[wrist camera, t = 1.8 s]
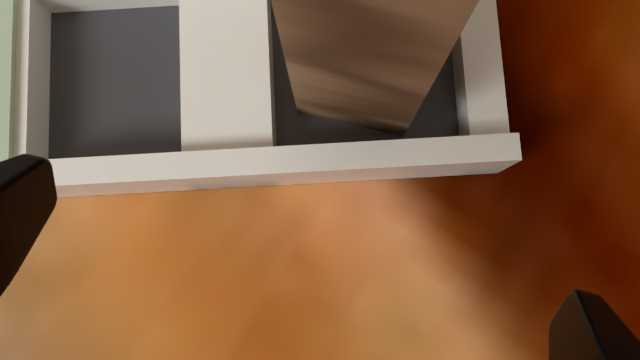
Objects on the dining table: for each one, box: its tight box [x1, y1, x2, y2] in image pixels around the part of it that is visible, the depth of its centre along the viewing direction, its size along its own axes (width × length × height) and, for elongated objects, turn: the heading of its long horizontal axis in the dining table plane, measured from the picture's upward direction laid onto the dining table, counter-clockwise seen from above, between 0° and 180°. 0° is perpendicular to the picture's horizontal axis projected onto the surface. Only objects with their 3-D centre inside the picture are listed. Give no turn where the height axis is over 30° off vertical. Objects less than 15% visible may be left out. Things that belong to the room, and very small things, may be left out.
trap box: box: [0, 0, 522, 197], centre depth 22 cm, size 26×9×3 cm, turn 93°
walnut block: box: [271, 0, 479, 137], centre depth 17 cm, size 4×4×12 cm
